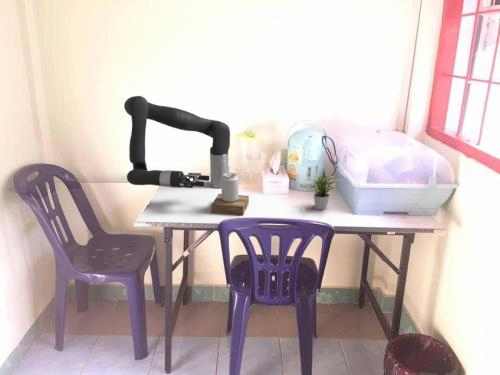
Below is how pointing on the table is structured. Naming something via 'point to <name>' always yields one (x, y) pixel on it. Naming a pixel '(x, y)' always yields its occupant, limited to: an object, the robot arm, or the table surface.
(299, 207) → the table surface
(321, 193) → the house plant
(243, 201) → the plinth
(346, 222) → the table surface
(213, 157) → the robot arm
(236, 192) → the can
